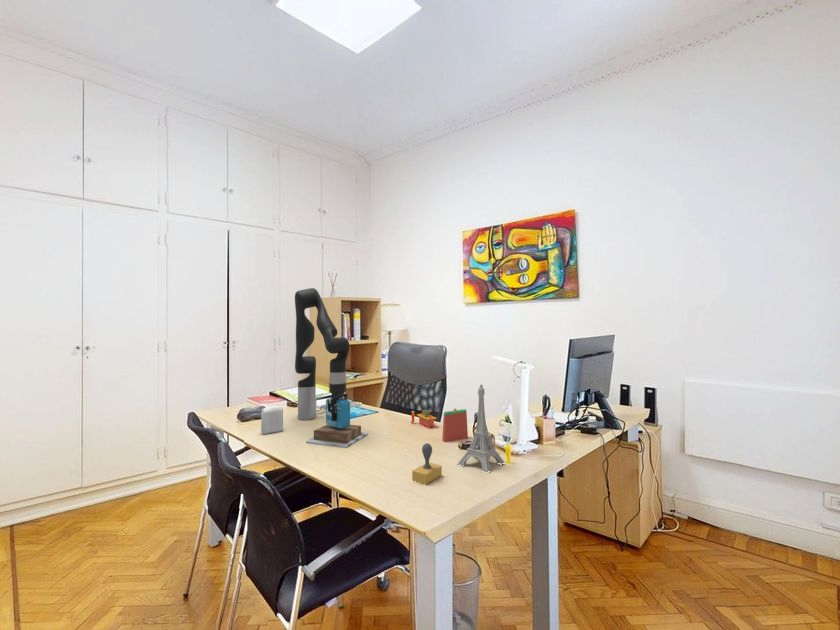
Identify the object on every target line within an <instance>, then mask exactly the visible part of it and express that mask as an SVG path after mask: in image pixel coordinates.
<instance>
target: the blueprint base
mask: <svg viewBox="0 0 840 630" xmlns="http://www.w3.org/2000/svg"><path fill="white" fill-rule="evenodd" d="M368 435H369V433H368V432H362V426H361V425H357V424H356V425H355V424H350V426H349V427H346V428H342V429H340V428H336V427H333V426H329V425H327V424H325V425H323V426H320V427H318V428H317V429H314V430H313V437H312V438H310V439H308V440H305V444H311V445H319V446H327V447H335V448H345V449H348V448H349V447H351V446H352V445H354V444H355V443H357V442H358V441H360V440H362V439H364V438H365V437H367V436H368Z"/></svg>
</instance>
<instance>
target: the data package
mask: <svg viewBox="0 0 840 630" xmlns="http://www.w3.org/2000/svg"><path fill="white" fill-rule="evenodd" d="M328 399H331V397H329V398H328ZM334 405H338V407H337V412H336V413H337V420H336V421H332V419H331V418H332V417H331V412H328V403H327V399H326V401H325V425H329V426H333V427H336V428H340V429H342V428H346V427H349V426H350V425H351V402H350V400H348V399H347V400H345V399H341V400H339V401H338V400H337V402H336V404H334ZM330 409H331V407H330ZM334 410H335V407H334Z"/></svg>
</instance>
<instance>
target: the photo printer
mask: <svg viewBox="0 0 840 630" xmlns="http://www.w3.org/2000/svg"><path fill="white" fill-rule="evenodd" d="M260 414H261V416H260V417H261V418H260V419H261V420H260V422H261V423H260V426H261V427H260V432H261V435H267V434H272V433H277V432H282V431H284V408H283V406H280V405H270V406H266V407H263V408H262V409H261V412H260Z"/></svg>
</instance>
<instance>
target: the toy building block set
mask: <svg viewBox="0 0 840 630" xmlns="http://www.w3.org/2000/svg"><path fill="white" fill-rule="evenodd" d="M430 413H432V410H430V409H423V410H421V413H418V414H417V413H416V414H415V411H414V410H411V415H410V416H411V422H410V424H412V425H413V424H414V422H415V416H417V417H418V421H419V422H418V424H419V425H421V426H423V427H425V428H427V429H430V428H434V427H435V420H437V417H435V416H433V415H432V414H430ZM467 413H468V412H467V409H466V408H465V409H464V408H463V409H457V408H454V409H453V410H450V411H443V417H442V418H443V421H442V440H441V441H442V442H444V443H446V442H452V441H459V440H464V439H468V438H469V434H468V433H469V432H468V414H467Z"/></svg>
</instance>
